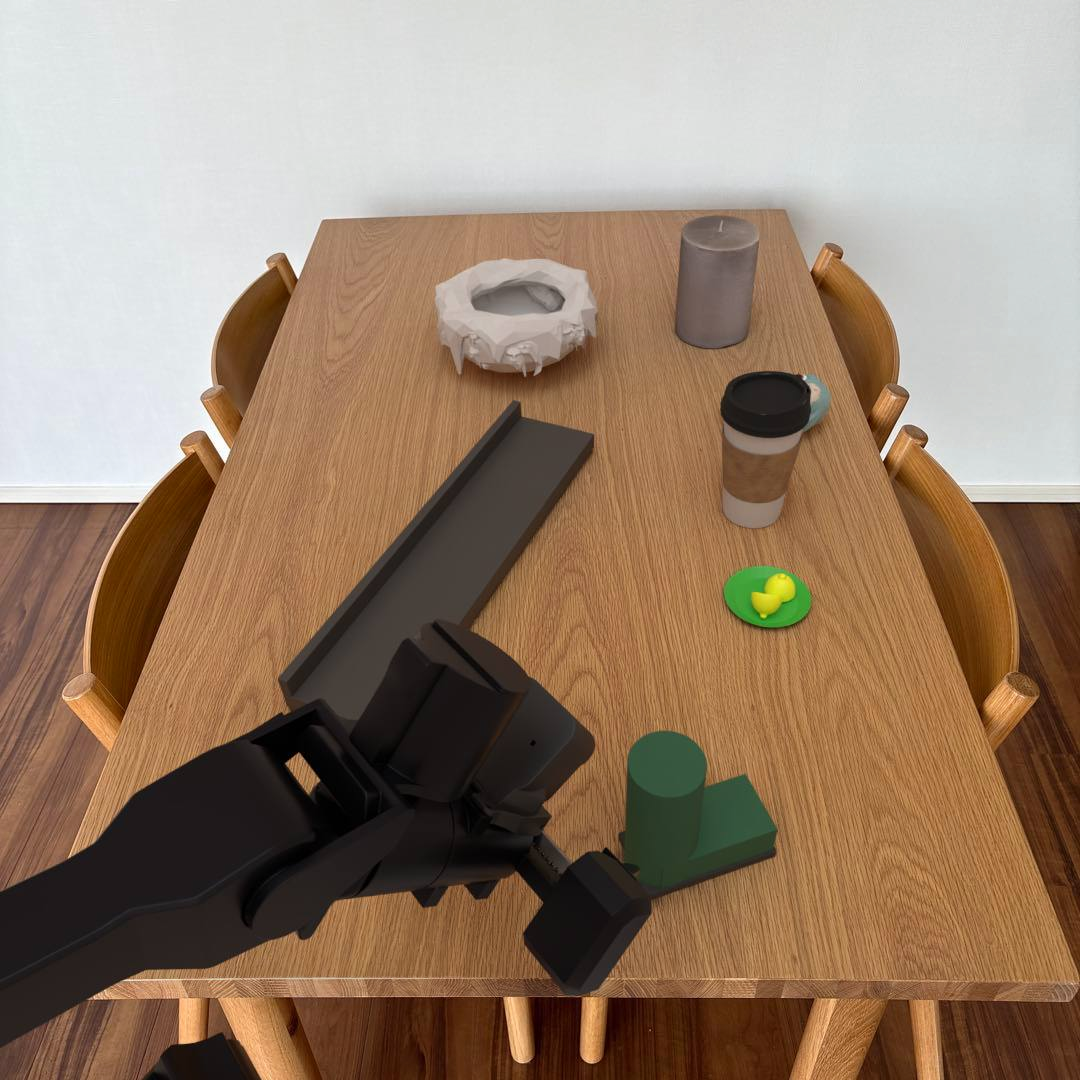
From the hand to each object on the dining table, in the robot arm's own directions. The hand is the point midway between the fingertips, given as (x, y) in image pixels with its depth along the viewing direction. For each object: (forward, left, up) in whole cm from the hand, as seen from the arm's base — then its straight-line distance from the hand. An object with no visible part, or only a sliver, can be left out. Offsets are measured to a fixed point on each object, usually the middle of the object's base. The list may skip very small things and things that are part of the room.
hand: (584, 820), depth 59 cm
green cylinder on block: (+8, -5, -13) cm, 16 cm away
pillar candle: (+80, +17, -13) cm, 83 cm away
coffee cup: (+47, +2, -13) cm, 49 cm away
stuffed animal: (+63, +4, -13) cm, 65 cm away
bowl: (+65, +38, -13) cm, 77 cm away
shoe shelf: (+28, +26, -13) cm, 40 cm away
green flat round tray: (+35, -3, -13) cm, 38 cm away
